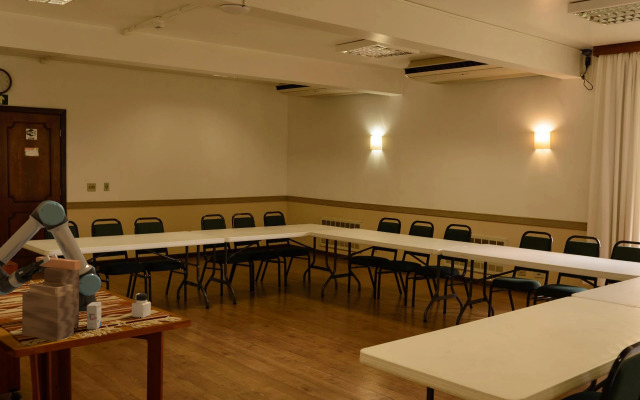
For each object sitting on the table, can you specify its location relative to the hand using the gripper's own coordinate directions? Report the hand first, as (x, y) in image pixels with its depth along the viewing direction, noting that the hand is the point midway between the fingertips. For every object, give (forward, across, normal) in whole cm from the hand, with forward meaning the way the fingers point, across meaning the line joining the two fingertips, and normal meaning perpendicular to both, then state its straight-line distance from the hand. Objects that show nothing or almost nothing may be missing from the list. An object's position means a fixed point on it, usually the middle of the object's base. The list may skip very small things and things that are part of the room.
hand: (52, 257), depth 297 cm
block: (+1, 0, -6) cm, 6 cm away
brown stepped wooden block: (-10, +5, -34) cm, 36 cm away
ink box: (-3, -10, -39) cm, 40 cm away
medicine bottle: (+2, -39, -42) cm, 57 cm away
